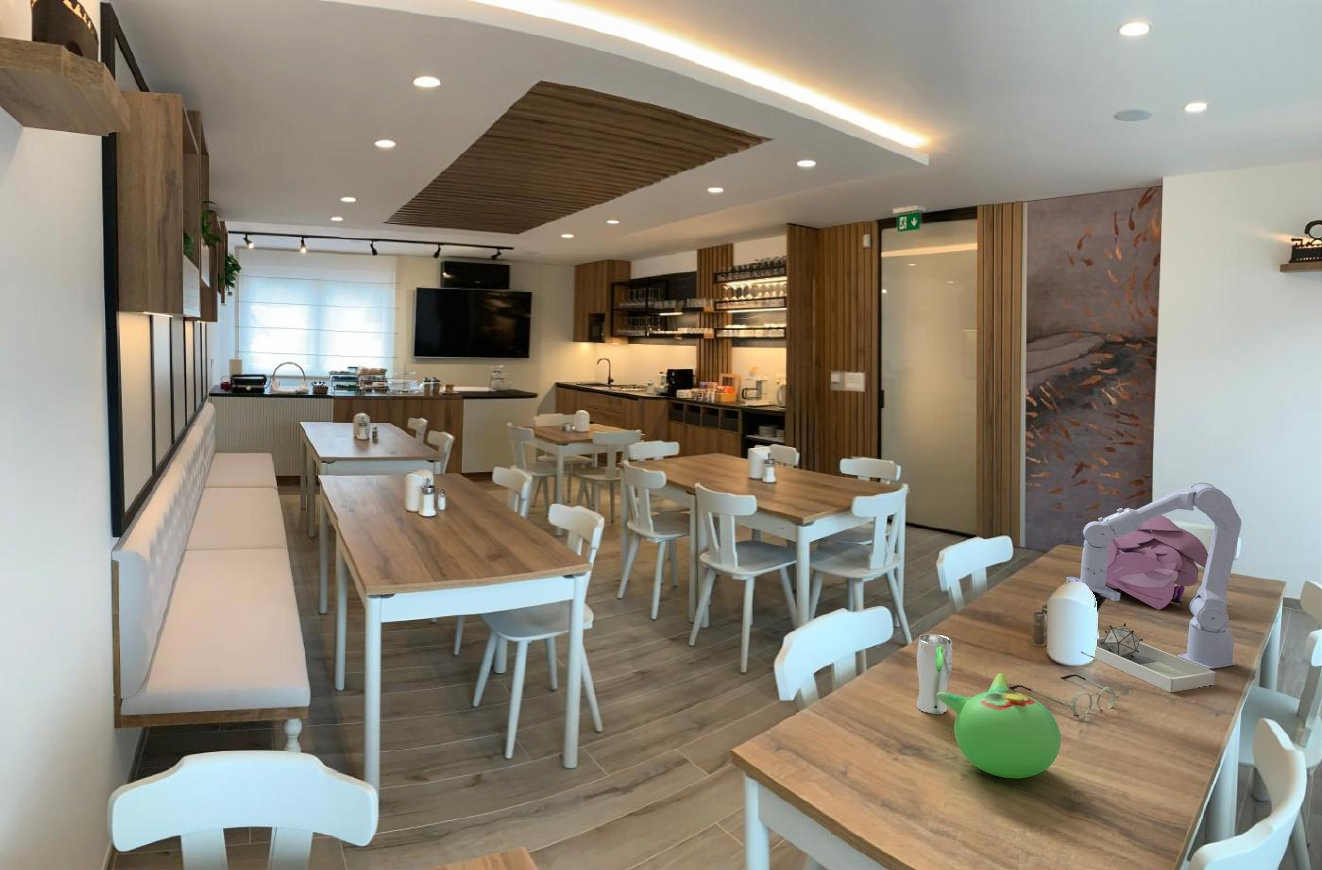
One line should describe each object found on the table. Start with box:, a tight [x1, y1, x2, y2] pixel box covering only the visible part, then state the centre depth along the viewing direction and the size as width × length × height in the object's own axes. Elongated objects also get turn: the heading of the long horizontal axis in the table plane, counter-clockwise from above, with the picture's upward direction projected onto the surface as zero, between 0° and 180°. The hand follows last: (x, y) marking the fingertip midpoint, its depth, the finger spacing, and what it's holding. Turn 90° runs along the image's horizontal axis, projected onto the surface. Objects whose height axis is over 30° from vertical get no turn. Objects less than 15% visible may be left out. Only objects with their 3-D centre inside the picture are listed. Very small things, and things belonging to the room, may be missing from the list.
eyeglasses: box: [1008, 673, 1120, 716], centre depth 162 cm, size 17×15×5 cm
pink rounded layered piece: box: [1080, 514, 1209, 610], centre depth 233 cm, size 35×24×28 cm
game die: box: [1100, 622, 1144, 658], centre depth 185 cm, size 9×8×10 cm
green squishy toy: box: [936, 672, 1062, 779], centre depth 133 cm, size 18×17×15 cm
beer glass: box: [915, 633, 953, 715], centre depth 155 cm, size 7×7×15 cm
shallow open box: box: [1094, 636, 1217, 693], centre depth 179 cm, size 14×24×3 cm, turn 18°
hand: (1089, 619), depth 193 cm, fingers closed
